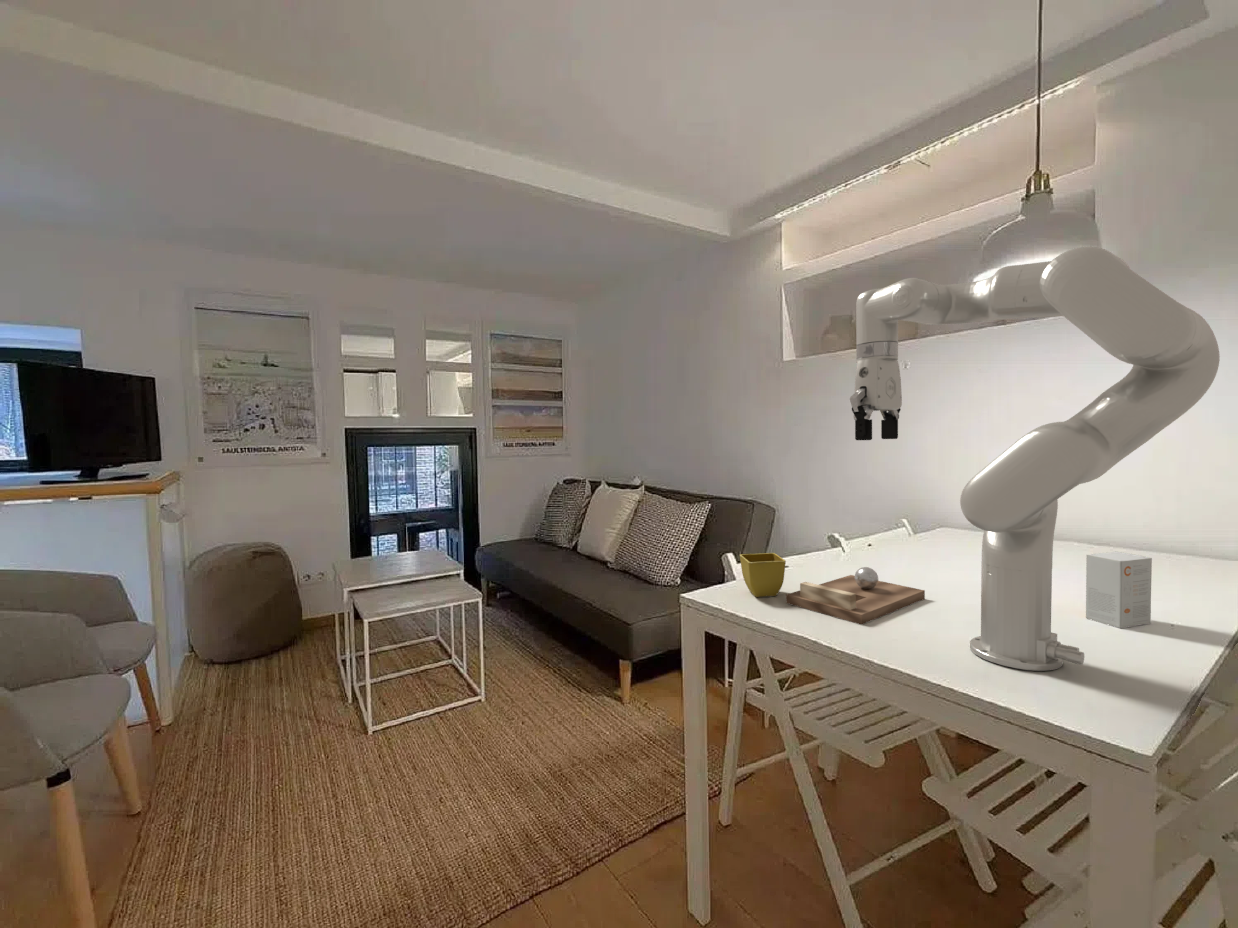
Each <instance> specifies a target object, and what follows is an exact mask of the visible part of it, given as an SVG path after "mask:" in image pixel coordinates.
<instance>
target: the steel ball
mask: <svg viewBox="0 0 1238 928" xmlns="http://www.w3.org/2000/svg"><path fill="white" fill-rule="evenodd" d="M854 576H855V581H856V583H857V585H858V586H860V587H861V588H863V589H872V588H874V587H875V586H876V585H877V583H878V581H879V575H878V573H877V571H876V570H874V569H873V568H872V567H869V566H868V567H867V566H864V567H860V568H859V569H857V570H856V572H855V574H854Z"/></svg>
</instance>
